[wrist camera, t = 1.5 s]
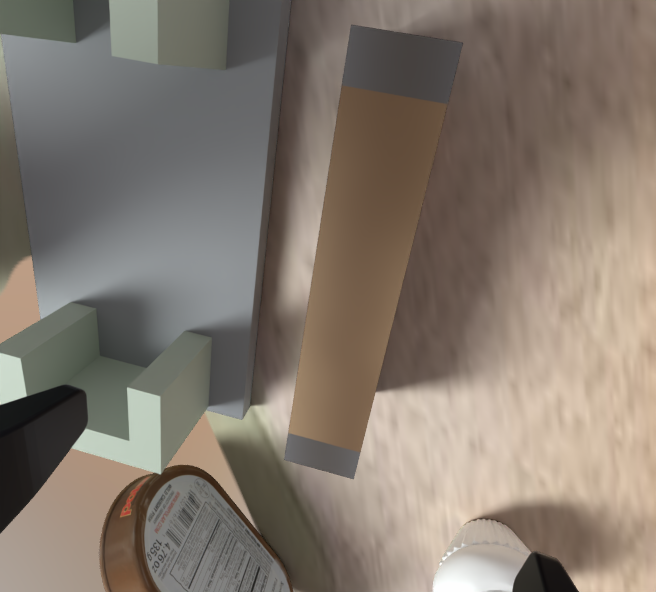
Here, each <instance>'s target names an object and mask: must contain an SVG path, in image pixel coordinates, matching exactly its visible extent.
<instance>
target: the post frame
mask: <svg viewBox="0 0 656 592" xmlns="http://www.w3.org/2000/svg"><path fill="white" fill-rule="evenodd" d="M290 10H291V0H0V34H1V37H2V44H3V52H4V59H5V66H6V73H7V80H8V88H9V95H10V102H11V109H12V117H13V124H14V131H15V138H16V146H17V153H18V160H19V167H20V174H21V182H22V189H23V196H24V203H25V211H26V218H27V225H28V232H29V239H30V247H31V254H32V261H33V268H34V275H35V283H36V290H37V297H38V303H39V311H40V319H41V320H40V321H38V322H37V323H34V324H33V325H31V326H30V327H28V328H26V329H24V330H23V331H21V332H19V333H18V334H16V335H14V336H13V337H11V338H9V339H7V340H6V341H4V342H2V343H1V344H0V403H1V404H4V403H8V402H11V401H14V400H17V399H20V398H23V397H26V396H29V395H32V394H35V393H39V392H42V391H45V390H48V389H51V388H54V387H57V386H60V385H65V384H68V385H72V386H75V387H78V388H80V389H83V390H84V391H85V392H86V395H87V407H88V424H87V426H86V428H85V430H84V432H83V433H82V435H81V436H80V437H79V439H78V440H77V441H76V443H75V444H74V445H73V446H72V448H73V449H76V450H79V451H83V452H86V453H90V454H93V455H97V456H100V457H103V458H107V459H110V460H113V461H117V462H120V463H124V464H127V465H131V466H134V467H138V468H141V469H145V470H148V471H151V472H154V473H158V474H161V473H162V472H163V471H164V469H165V468H166V466H167V465H168V463H169V462H170V461H171V459H172V458H173V456H174V455H175V453H176V452H177V451H178V449H179V448H180V446H181V445H182V443H183V442H184V441H185V439H186V438H187V436H188V435H189V433H190V432H191V430H192V429H193V428H194V426H195V425H196V424H197V422H198V420H199V419H200V418H201V416H202V415H203V414H204V412H205V411H206V410H208V411H211V412H215V413H219V414H222V415H226V416H230V417H233V418H237V419H241V420H242V419H243V418H244V416H245V414H246V412H247V411H248V409H249V407H250V401H251V391H252V381H253V371H254V362H255V352H256V342H257V332H258V323H259V313H260V303H261V293H262V283H263V274H264V264H265V254H266V244H267V235H268V225H269V215H270V205H271V195H272V186H273V176H274V166H275V156H276V146H277V137H278V127H279V117H280V107H281V98H282V88H283V78H284V68H285V58H286V49H287V39H288V29H289V19H290Z"/></svg>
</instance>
